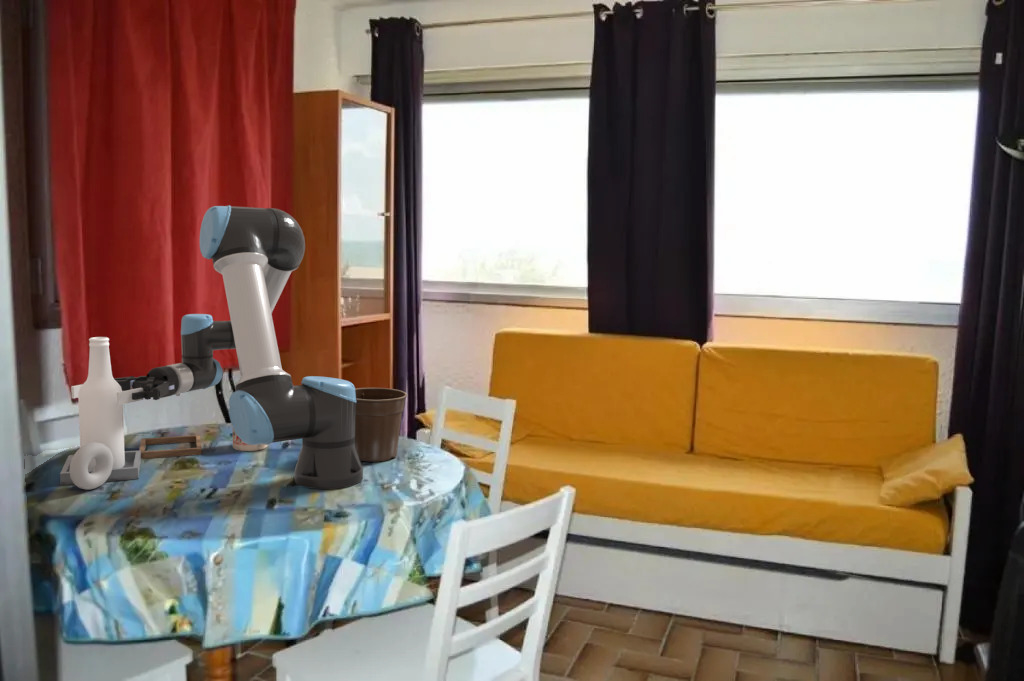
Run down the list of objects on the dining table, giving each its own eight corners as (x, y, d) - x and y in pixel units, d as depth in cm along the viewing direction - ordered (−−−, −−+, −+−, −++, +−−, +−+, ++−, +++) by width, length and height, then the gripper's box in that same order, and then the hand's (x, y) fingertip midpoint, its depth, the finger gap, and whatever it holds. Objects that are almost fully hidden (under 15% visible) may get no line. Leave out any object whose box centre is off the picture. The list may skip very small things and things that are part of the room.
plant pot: (393, 444, 207) (394, 385, 205) (415, 460, 193) (416, 397, 191) (333, 450, 199) (333, 389, 197) (351, 468, 185) (351, 401, 183)
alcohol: (71, 473, 172) (66, 339, 168) (98, 462, 180) (94, 334, 177) (108, 476, 171) (104, 341, 167) (133, 465, 179) (129, 336, 175)
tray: (138, 478, 172) (137, 467, 171) (60, 485, 166) (59, 473, 165) (141, 460, 185) (140, 450, 185) (69, 465, 179) (68, 455, 179)
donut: (79, 496, 159) (77, 449, 158) (66, 494, 160) (64, 447, 159) (118, 483, 168) (116, 438, 167) (105, 481, 169) (104, 436, 168)
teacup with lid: (224, 450, 196) (224, 405, 195) (243, 441, 205) (243, 398, 204) (268, 454, 194) (268, 408, 193) (285, 445, 203) (285, 401, 202)
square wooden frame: (201, 454, 192) (201, 448, 192) (139, 458, 186) (138, 452, 186) (200, 440, 205) (200, 434, 205) (141, 444, 199) (141, 438, 199)
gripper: (209, 400, 188) (138, 418, 168) (131, 390, 197) (55, 406, 177) (208, 370, 187) (137, 384, 167) (130, 361, 196) (53, 373, 176)
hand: (94, 395), depth 172 cm, fingers open, 13 cm apart
